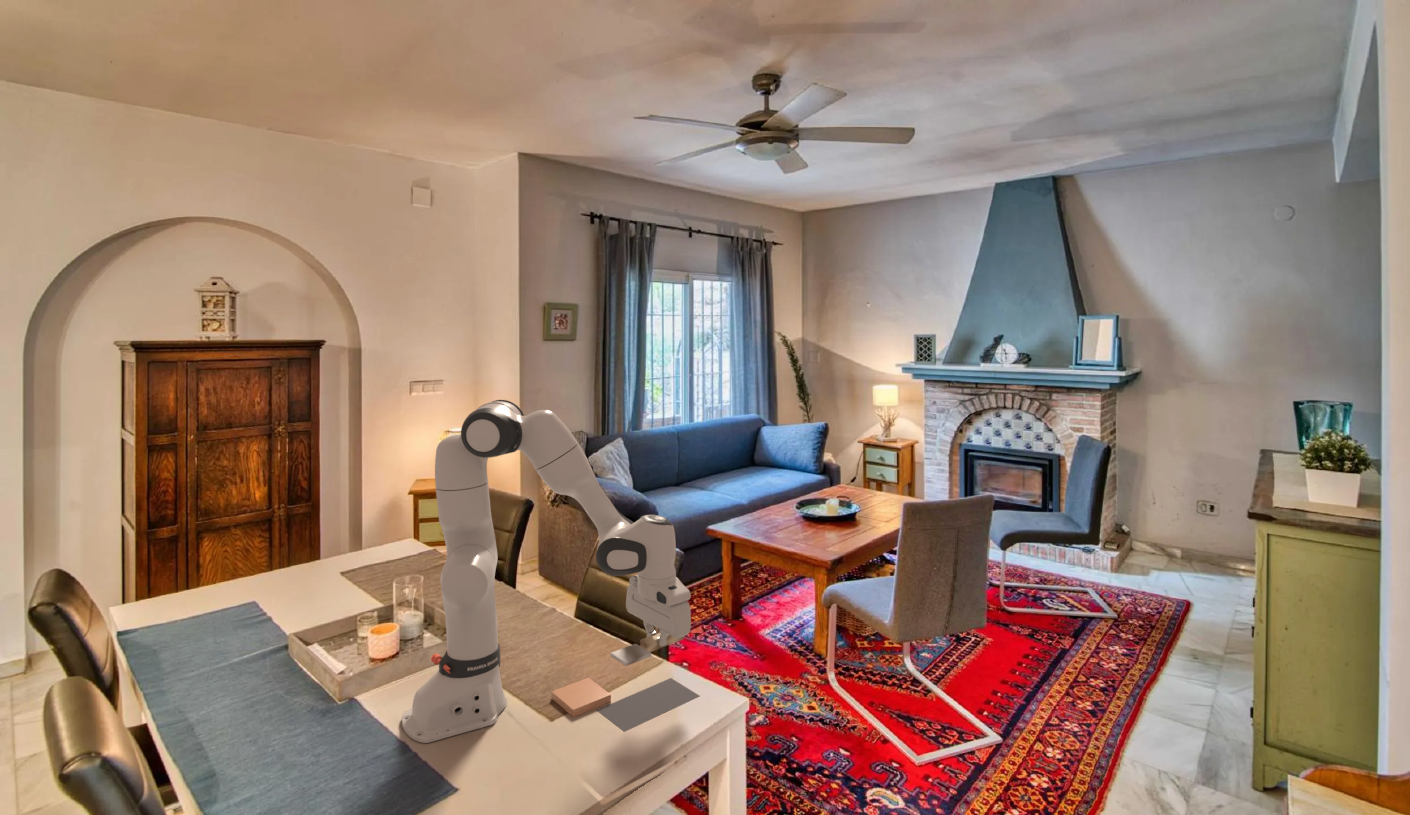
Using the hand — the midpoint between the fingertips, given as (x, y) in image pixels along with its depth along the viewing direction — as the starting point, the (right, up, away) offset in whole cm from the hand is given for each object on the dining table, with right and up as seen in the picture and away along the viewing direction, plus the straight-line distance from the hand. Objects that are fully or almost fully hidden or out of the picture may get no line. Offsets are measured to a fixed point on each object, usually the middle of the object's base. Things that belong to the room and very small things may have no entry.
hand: (656, 641), depth 158 cm
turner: (-2, -1, -2) cm, 3 cm away
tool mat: (-2, -15, 0) cm, 15 cm away
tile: (-14, -13, +4) cm, 20 cm away
